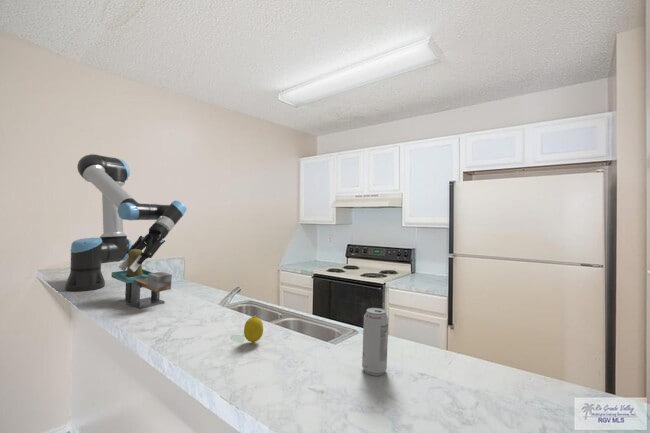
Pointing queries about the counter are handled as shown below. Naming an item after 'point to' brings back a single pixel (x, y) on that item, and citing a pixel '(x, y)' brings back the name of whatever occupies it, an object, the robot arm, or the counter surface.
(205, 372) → the counter surface
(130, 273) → the olive chess piece
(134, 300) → the beam stand
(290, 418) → the counter surface
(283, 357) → the counter surface
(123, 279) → the balance beam
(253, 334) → the lemon
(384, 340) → the energy drink can
